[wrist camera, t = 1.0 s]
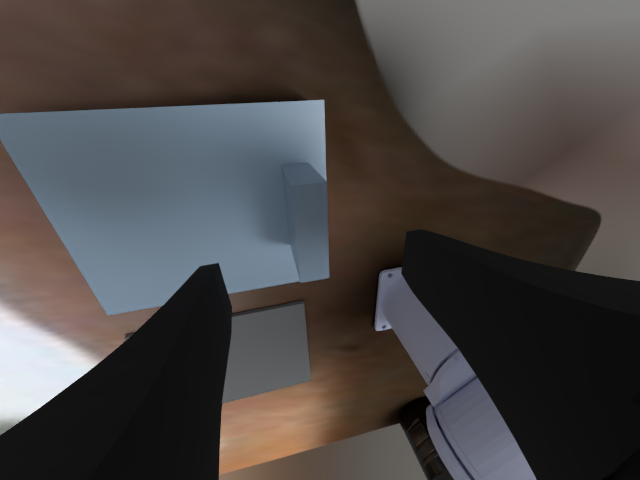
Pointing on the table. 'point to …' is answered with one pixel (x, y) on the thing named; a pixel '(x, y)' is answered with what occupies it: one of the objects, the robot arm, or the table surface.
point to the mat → (266, 351)
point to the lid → (180, 194)
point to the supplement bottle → (422, 440)
